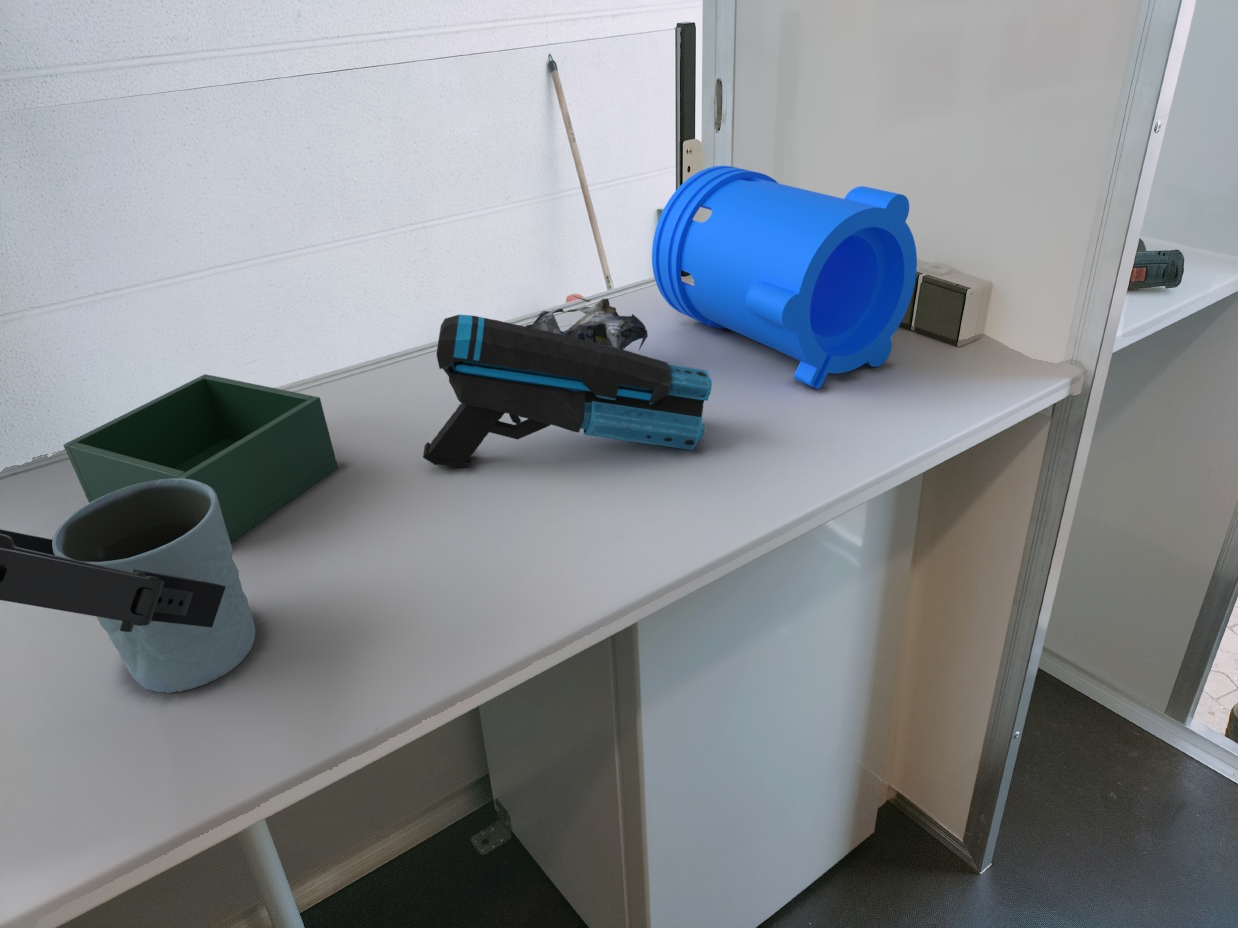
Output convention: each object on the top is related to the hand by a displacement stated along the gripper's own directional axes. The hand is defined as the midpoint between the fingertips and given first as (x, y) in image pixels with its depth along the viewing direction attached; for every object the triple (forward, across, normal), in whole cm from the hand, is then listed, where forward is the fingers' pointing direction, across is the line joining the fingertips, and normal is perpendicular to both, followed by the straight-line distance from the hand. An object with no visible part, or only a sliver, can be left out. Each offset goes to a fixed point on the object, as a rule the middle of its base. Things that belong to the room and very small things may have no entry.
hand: (140, 583), depth 58 cm
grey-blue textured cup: (+7, 0, -4) cm, 8 cm away
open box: (+19, -15, +8) cm, 26 cm away
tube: (+54, +26, +43) cm, 74 cm away
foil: (+43, +5, +32) cm, 54 cm away
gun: (+32, +14, +21) cm, 40 cm away
